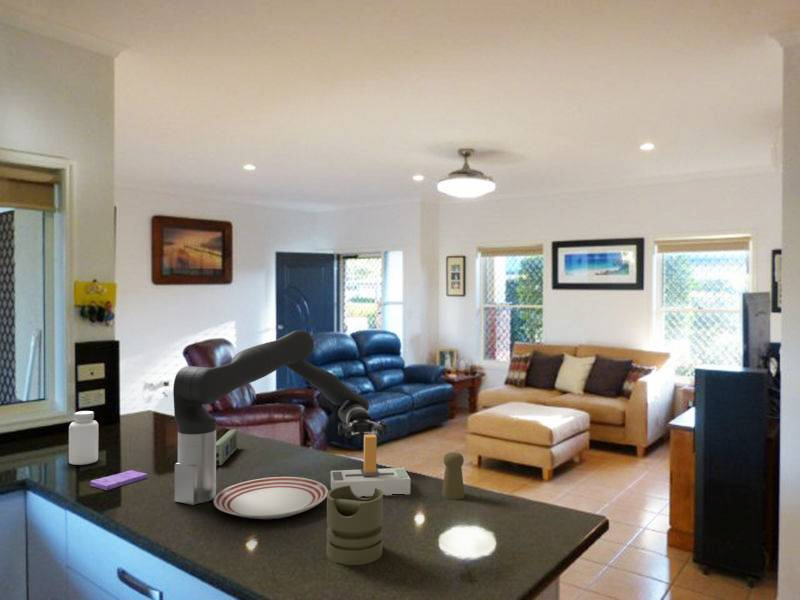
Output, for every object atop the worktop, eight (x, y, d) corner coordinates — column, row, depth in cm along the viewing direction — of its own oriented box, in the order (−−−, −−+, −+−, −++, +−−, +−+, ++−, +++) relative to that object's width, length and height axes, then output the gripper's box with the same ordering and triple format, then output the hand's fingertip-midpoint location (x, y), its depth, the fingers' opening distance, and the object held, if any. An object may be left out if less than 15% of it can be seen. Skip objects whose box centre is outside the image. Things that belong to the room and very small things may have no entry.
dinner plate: (212, 533, 134) (212, 518, 134) (214, 492, 161) (215, 479, 161) (336, 521, 142) (336, 507, 142) (319, 484, 168) (319, 472, 168)
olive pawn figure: (463, 500, 156) (464, 457, 156) (440, 498, 157) (440, 455, 157) (465, 492, 162) (466, 451, 162) (443, 490, 163) (443, 449, 163)
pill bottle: (103, 458, 190) (103, 410, 190) (88, 466, 182) (88, 415, 182) (79, 457, 191) (79, 409, 190) (62, 465, 183) (62, 414, 182)
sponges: (90, 487, 164) (90, 480, 164) (131, 475, 175) (131, 469, 175) (106, 492, 161) (106, 485, 161) (147, 479, 172) (147, 473, 172)
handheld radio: (238, 449, 203) (217, 471, 178) (228, 449, 203) (206, 472, 178) (238, 429, 203) (216, 449, 178) (228, 429, 203) (205, 449, 178)
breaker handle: (362, 476, 161) (362, 438, 161) (360, 471, 165) (361, 434, 165) (379, 475, 162) (379, 437, 161) (376, 470, 166) (377, 433, 166)
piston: (339, 482, 132) (389, 487, 129) (338, 538, 132) (389, 544, 129) (318, 500, 121) (372, 506, 118) (317, 560, 121) (372, 568, 118)
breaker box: (333, 498, 157) (333, 482, 157) (330, 485, 167) (330, 470, 167) (410, 494, 160) (410, 478, 160) (403, 482, 170) (403, 467, 170)
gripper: (335, 409, 189) (340, 421, 173) (381, 408, 191) (390, 419, 175) (335, 433, 189) (340, 448, 173) (381, 432, 192) (390, 446, 176)
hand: (365, 433), depth 174 cm, fingers open, 8 cm apart
